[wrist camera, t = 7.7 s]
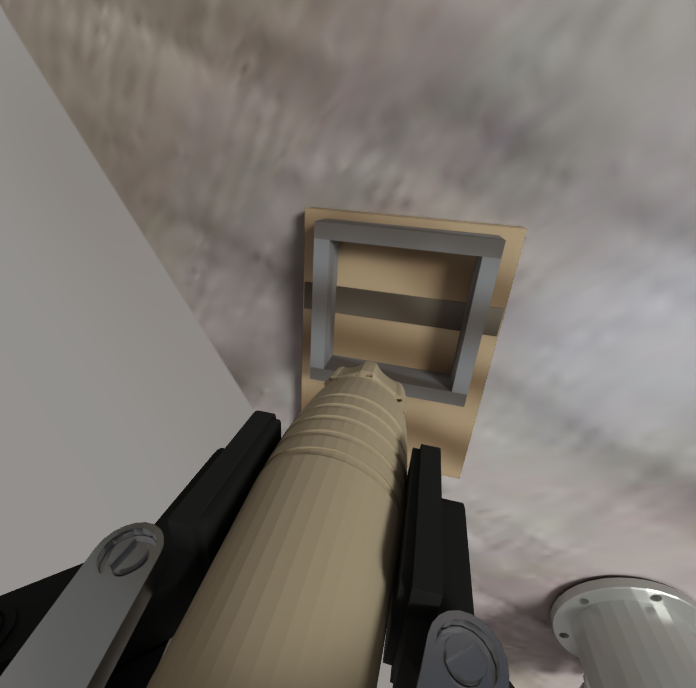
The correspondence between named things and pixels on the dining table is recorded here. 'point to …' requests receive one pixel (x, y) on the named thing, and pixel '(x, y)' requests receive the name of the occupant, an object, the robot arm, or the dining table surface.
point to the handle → (307, 553)
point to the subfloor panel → (409, 312)
